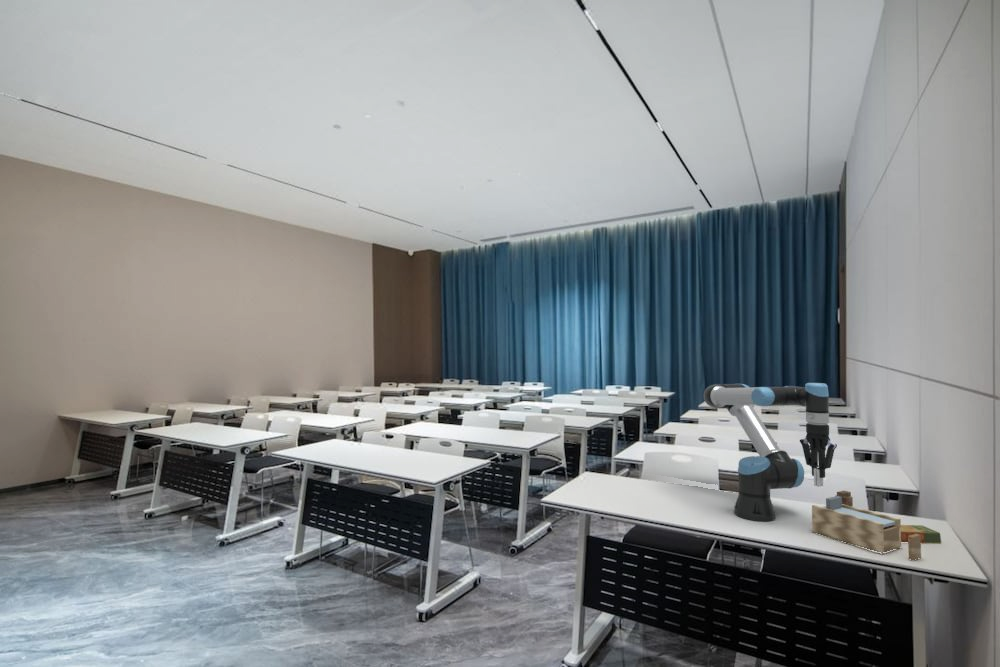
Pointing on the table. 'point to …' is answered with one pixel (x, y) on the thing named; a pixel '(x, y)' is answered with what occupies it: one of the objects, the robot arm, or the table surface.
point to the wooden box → (863, 530)
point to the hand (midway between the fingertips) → (818, 485)
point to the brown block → (846, 497)
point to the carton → (925, 533)
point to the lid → (836, 505)
